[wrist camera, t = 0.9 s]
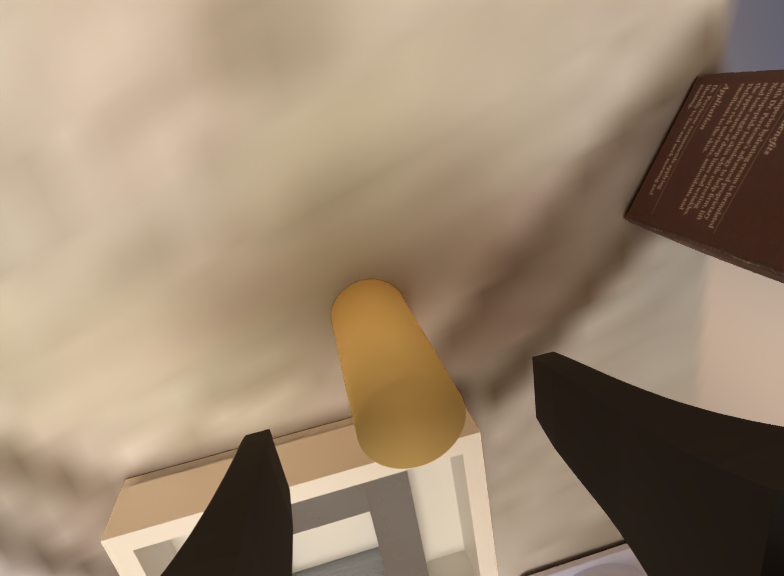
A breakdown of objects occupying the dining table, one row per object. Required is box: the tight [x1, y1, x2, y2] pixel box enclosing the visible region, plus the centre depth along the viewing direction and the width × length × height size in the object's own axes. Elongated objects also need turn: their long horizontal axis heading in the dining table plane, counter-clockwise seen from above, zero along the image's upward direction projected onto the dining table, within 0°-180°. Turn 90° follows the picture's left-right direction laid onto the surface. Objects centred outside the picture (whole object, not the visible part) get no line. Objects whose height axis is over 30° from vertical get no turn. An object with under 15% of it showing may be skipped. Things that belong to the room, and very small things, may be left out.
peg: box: [331, 279, 466, 469], centre depth 16 cm, size 3×3×7 cm
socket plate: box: [291, 470, 429, 576], centre depth 21 cm, size 8×8×2 cm
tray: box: [100, 407, 498, 576], centre depth 21 cm, size 10×14×3 cm
